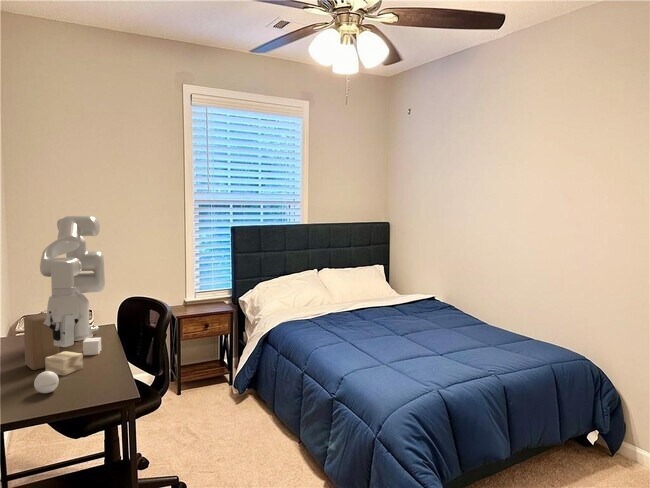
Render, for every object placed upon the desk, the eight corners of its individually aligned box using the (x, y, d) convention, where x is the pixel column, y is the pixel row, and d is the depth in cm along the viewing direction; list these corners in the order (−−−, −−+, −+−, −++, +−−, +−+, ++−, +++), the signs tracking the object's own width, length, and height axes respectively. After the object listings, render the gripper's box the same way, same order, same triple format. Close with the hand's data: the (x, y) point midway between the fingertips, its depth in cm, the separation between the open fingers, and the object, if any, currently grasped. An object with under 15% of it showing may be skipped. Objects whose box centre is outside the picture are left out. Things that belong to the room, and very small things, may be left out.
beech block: (65, 365, 184) (65, 351, 184) (83, 368, 181) (82, 353, 181) (45, 373, 175) (45, 357, 175) (63, 376, 173) (63, 360, 172)
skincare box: (53, 345, 176) (52, 315, 176) (63, 342, 181) (62, 312, 180) (65, 347, 175) (64, 316, 174) (75, 344, 179) (74, 313, 178)
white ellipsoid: (32, 398, 152) (31, 376, 151) (36, 390, 158) (35, 369, 158) (66, 394, 156) (66, 372, 155) (69, 386, 162) (68, 366, 162)
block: (24, 365, 183) (23, 315, 182) (52, 359, 191) (51, 312, 189) (31, 371, 176) (30, 320, 175) (60, 365, 184) (59, 316, 182)
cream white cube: (98, 354, 198) (98, 341, 198) (83, 355, 197) (82, 341, 196) (101, 350, 204) (101, 337, 204) (86, 351, 203) (86, 338, 202)
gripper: (78, 288, 185) (78, 332, 187) (34, 294, 171) (35, 342, 172) (89, 289, 182) (90, 334, 183) (46, 296, 167) (47, 345, 168)
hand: (63, 337), depth 177 cm, fingers closed on skincare box, 4 cm apart
